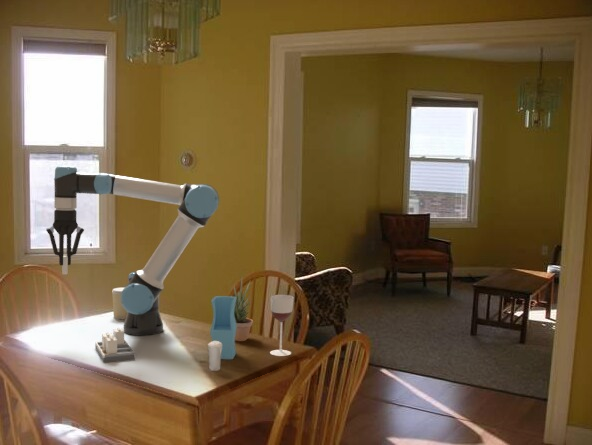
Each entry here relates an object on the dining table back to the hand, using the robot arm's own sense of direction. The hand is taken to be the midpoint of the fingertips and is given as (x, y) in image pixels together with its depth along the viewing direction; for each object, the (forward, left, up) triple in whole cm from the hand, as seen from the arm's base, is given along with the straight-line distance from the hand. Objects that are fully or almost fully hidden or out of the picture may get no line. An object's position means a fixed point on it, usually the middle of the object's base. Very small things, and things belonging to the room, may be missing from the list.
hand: (64, 273), depth 226 cm
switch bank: (-14, +24, -24) cm, 37 cm away
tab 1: (-11, +24, -23) cm, 35 cm away
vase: (-48, +39, -25) cm, 66 cm away
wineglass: (-68, +43, -25) cm, 84 cm away
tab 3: (-16, +19, -23) cm, 33 cm away
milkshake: (-40, +52, -25) cm, 70 cm away
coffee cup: (-27, -28, -25) cm, 46 cm away
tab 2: (-12, +29, -23) cm, 38 cm away
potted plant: (-61, +21, -25) cm, 69 cm away
